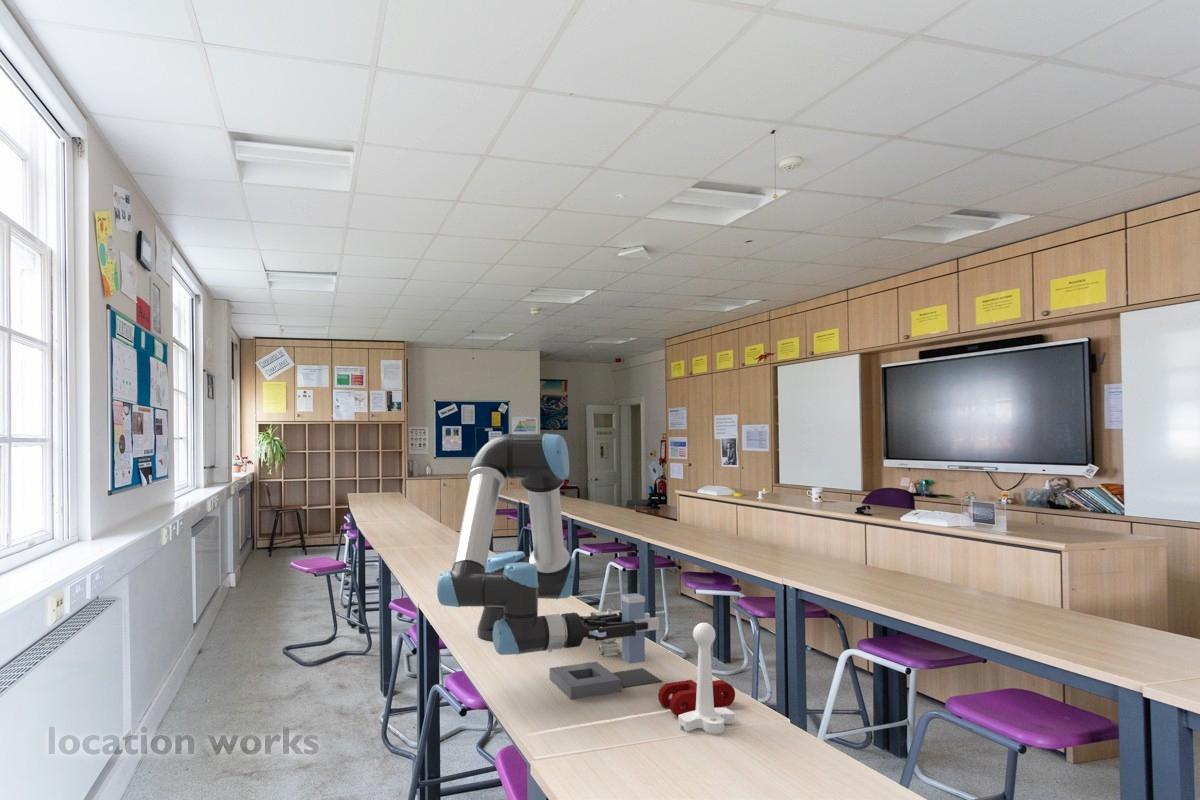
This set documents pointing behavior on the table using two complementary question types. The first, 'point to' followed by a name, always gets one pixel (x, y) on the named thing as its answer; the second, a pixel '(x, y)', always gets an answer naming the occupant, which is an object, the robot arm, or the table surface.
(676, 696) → the mechanical linkage
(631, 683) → the mat
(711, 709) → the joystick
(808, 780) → the table surface
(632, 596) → the plug
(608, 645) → the pneumatic valve
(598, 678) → the socket
